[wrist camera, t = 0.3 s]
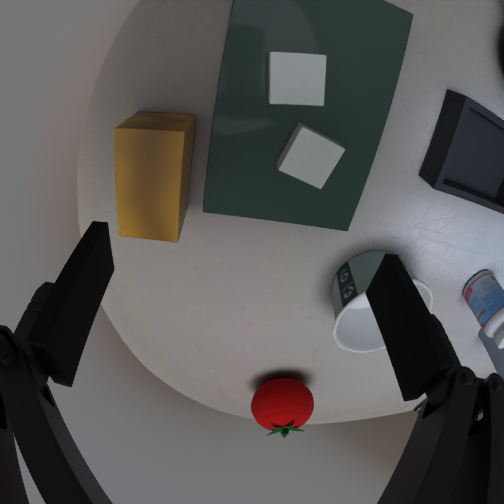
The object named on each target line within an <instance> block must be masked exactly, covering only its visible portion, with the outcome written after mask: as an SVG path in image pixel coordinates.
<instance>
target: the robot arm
mask: <svg viewBox="0 0 504 504" xmlns="http://www.w3.org/2000/svg"><path fill="white" fill-rule="evenodd" d="M113 272H114V263H113V257H112V250H111V243H110V236H109V228H108V222H98V221H93V222H92V223H91V225H90V226H89V228H88V229H87V231H86V232H85V234H84V235H83V237H82V238H81V240H80V242H79V243H78V245H77V246H76V248H75V250H74V251H73V253H72V254H71V256H70V258H69V259H68V261H67V263H66V264H65V266H64V268H63V269H62V271H61V273H60V275H59V277H58V278H57V280H56V282H55V283H50V282H45V283H44V284H42V286H40V287H39V288H38V289H37V290H36V292H35V294H34V295H33V297H32V299H31V302H30V303H29V304H28V306H27V310H25V312H24V314H23V316H22V318H21V320H20V322H19V324H18V326H17V328H16V330H15V332H14V334H13V333H12V331H11V330H10V329H9V328H8V327H6V326H2V325H0V504H29V501H28V498H27V494H26V491H25V487H24V483H23V479H22V476H21V471H20V467H19V463H18V458H17V452H16V447H15V441H14V436H15V439H16V441H17V444H18V446H19V449H20V451H21V454H22V456H23V459H24V461H25V463H26V465H27V467H28V469H29V472H30V474H31V476H32V478H33V480H34V482H35V484H36V486H37V488H38V490H39V492H40V494H41V496H42V498H43V500H44V501H45V503H46V504H112V502H111V501H110V499H109V498H108V496H107V495H106V494H105V492H104V491H103V489H102V488H101V486H100V485H99V483H98V481H97V480H96V478H95V477H94V475H93V473H92V472H91V470H90V469H89V467H88V465H87V464H86V462H85V460H84V458H83V457H82V455H81V453H80V451H79V449H78V448H77V446H76V444H75V442H74V440H73V438H72V436H71V434H70V432H69V430H68V428H67V426H66V424H65V422H64V420H63V418H62V416H61V414H60V412H59V409H58V407H57V405H56V402H55V400H54V398H53V395H52V393H51V391H50V389H49V386H48V384H47V381H48V377H49V376H50V377H51V378H52V380H53V381H54V383H58V384H61V385H65V386H68V387H72V384H73V381H74V377H75V374H76V371H77V368H78V365H79V361H80V358H81V355H82V352H83V349H84V346H85V344H86V341H87V338H88V335H89V332H90V329H91V326H92V324H93V321H94V318H95V316H96V313H97V311H98V308H99V306H100V303H101V301H102V298H103V296H104V293H105V291H106V288H107V286H108V283H109V281H110V279H111V276H112V274H113ZM365 294H366V297H367V299H368V302H369V304H370V307H371V309H372V312H373V314H374V317H375V319H376V322H377V325H378V327H379V330H380V332H381V335H382V338H383V341H384V343H385V346H386V349H387V352H388V354H389V357H390V360H391V363H392V366H393V369H394V372H395V375H396V378H397V381H398V384H399V387H400V390H401V393H402V396H403V400H404V401H410V400H415V399H418V398H419V397H420V396H421V395H422V394H424V393H426V396H427V398H426V399H424V400H423V401H422V402H421V403H420V404H418V405H417V406H416V407H415V408H414V411H416V410H417V409H419V408H420V407H421V409H420V411H419V412H418V413H419V414H418V417H417V420H416V422H415V425H414V428H413V430H412V433H411V435H410V437H409V440H408V442H407V444H406V447H405V449H404V452H403V454H402V456H401V458H400V460H399V462H398V465H397V466H396V469H395V471H394V473H393V475H392V477H391V479H390V481H389V483H388V485H387V486H386V488H385V490H384V492H383V494H382V496H381V497H380V499H379V501H378V503H377V504H504V380H503V378H502V377H501V376H500V375H498V374H497V373H492V374H490V375H489V376H488V377H487V378H486V379H482V378H478V377H476V375H475V374H474V372H473V371H472V370H471V369H470V368H468V367H466V366H461V364H460V361H459V359H458V357H457V355H456V353H455V350H454V348H453V346H452V344H451V342H450V340H449V338H448V336H447V334H446V333H445V330H444V328H443V326H442V324H441V322H440V321H439V320H438V319H437V318H436V316H435V315H434V314H430V312H429V310H428V308H427V306H426V304H425V302H424V300H423V298H422V297H421V295H420V293H419V291H418V289H417V287H416V286H415V284H414V282H413V280H412V279H411V277H410V275H409V273H408V272H407V270H406V268H405V267H404V265H403V263H402V261H401V260H400V258H399V256H398V255H395V254H387V253H385V255H384V257H383V259H382V261H381V263H380V265H379V267H378V269H377V271H376V273H375V275H374V277H373V279H372V281H371V283H370V285H369V287H368V288H367V290H366V292H365ZM482 412H483V418H482V419H481V420H479V421H478V415H480V414H481V413H482ZM13 433H14V435H13Z"/></svg>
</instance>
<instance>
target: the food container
mask: <svg viewBox="0 0 504 504" xmlns="http://www.w3.org/2000/svg"><path fill="white" fill-rule="evenodd" d="M385 253H387V254H392V253H390V252H387V251H382V250H375V251H369V252H365V253H362V254H360V255H358V256H356V257H354V258H352V259H351V260H349V261H348V262H347V263H346V264H344V265H343V266H342V267H341V269H340V270H339V271H338V273H337V274H336V276H335V278H334V281H333V286H332V289H333V301H334V315H335V322H334V324H333V330H332V335H333V338H334V341H335V342H336V344H337V345H338V346H340V347H341V348H343V349H345V350H347V351H351V352H358V353H365V352H373V351H378V350H382V349H385V348H386V346H385V343H384V341H383V338H382V335H381V332H380V330H379V327H378V325H377V322H376V319H375V317H374V314H373V312H372V309H371V307H370V304H369V302H368V299H367V297H366V294H365V292H366V290H367V288H368V287H369V285H370V283H371V281H372V279H373V277H374V275H375V273H376V271H377V269H378V267H379V265H380V263H381V261H382V259H383V257H384V255H385ZM403 265H404V264H403ZM404 267H405V268H406V270H407V272H408V273H409V275H410V277H411V279H412V280H413V282H414V284H415V286H416V287H417V289H418V291H419V293H420V295H421V297H422V298H423V300H424V302H425V304H426V306H427V308H428V310H429V312H431V309H432V306H433V293H432V291H431V289H430V287H429V286H428V285H427V284H426V283H424V282H422V281H420V280H418V279H417V278H416V277H415V276H414V275H413V273H412V272H411V271H410V270H409V269H408V268H407V267H406V266H405V265H404Z"/></svg>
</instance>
